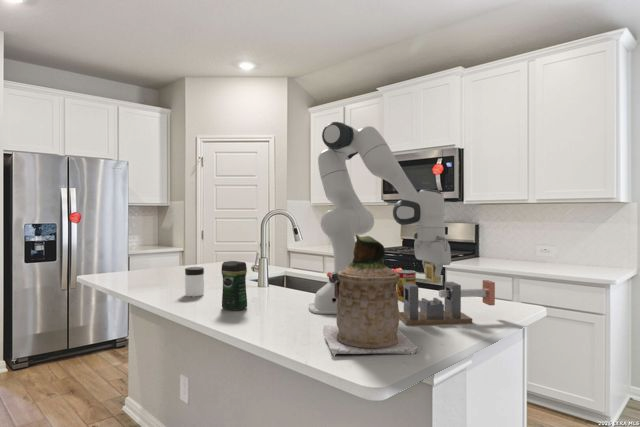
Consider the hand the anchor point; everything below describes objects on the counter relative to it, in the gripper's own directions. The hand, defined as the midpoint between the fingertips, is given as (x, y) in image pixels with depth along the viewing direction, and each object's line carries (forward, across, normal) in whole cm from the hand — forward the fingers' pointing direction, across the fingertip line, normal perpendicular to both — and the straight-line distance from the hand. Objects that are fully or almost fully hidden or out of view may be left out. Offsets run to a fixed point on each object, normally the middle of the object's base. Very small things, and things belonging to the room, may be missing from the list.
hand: (432, 275), depth 155 cm
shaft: (+11, -1, -12) cm, 16 cm away
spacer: (+2, 0, 0) cm, 2 cm away
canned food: (+16, +33, -5) cm, 37 cm away
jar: (+15, +66, +83) cm, 107 cm away
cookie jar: (+16, -18, +30) cm, 39 cm away
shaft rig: (+16, 0, 0) cm, 16 cm away
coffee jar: (+15, +34, +67) cm, 77 cm away
